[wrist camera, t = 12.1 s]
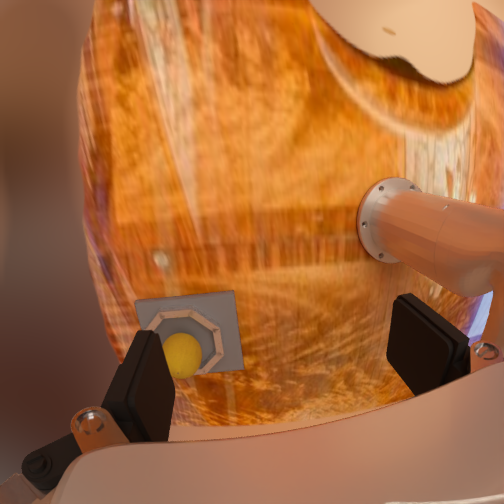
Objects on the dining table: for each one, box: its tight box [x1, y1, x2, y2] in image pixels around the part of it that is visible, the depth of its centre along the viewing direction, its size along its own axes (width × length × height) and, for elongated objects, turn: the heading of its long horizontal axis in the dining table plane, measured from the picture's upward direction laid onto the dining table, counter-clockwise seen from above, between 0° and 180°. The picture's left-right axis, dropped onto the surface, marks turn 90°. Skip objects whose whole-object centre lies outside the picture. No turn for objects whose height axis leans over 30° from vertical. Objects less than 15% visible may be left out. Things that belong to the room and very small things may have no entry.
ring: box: [144, 305, 224, 375], centre depth 40 cm, size 11×11×2 cm
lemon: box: [162, 333, 202, 379], centre depth 37 cm, size 6×6×8 cm
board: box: [135, 290, 244, 373], centre depth 41 cm, size 14×13×1 cm
